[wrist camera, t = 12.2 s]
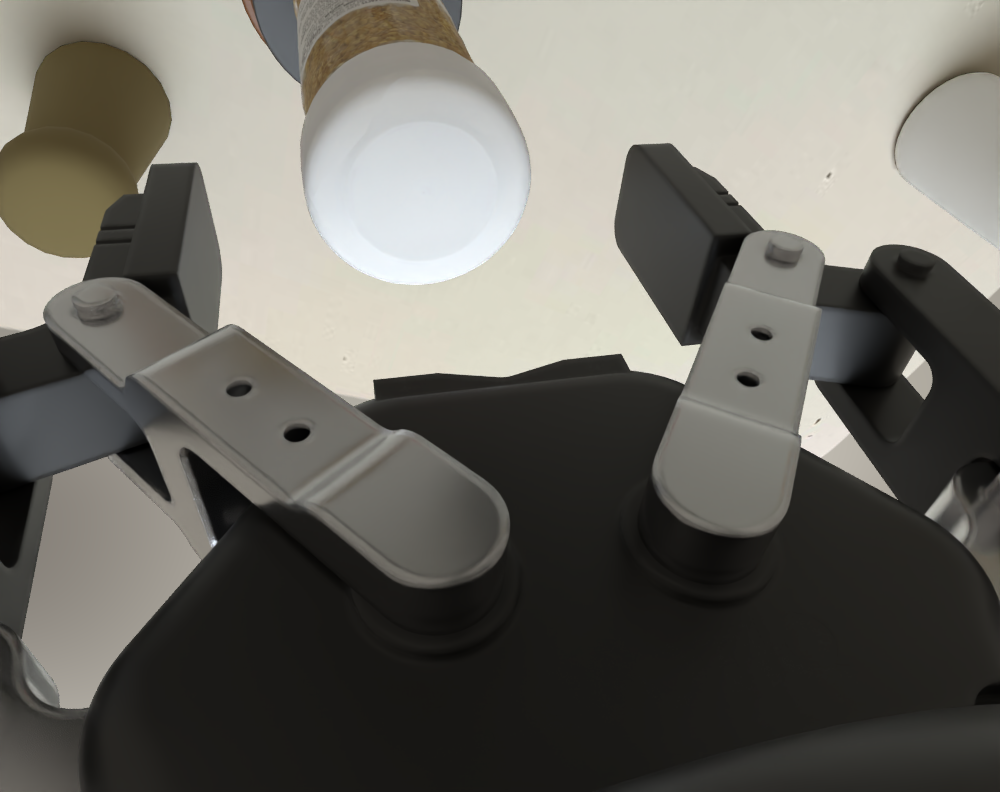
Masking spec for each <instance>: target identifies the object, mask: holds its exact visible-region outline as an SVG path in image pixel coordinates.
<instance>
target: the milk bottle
mask: <svg viewBox="0 0 1000 792" xmlns="http://www.w3.org/2000/svg"><path fill="white" fill-rule="evenodd" d="M895 160H896V166H897V169H898V171H899V173H900V175H901V177H902V178H903V179H904V180H906V181H907V182H908V183H909V184H910V185H912V186H913V187H914V188H915V189H917V190H918V191H919V192H921V193H922V194H923V195H925V196H926V197H927V198H929V199H930V200H931V201H933V202H934V203H935V204H937V205H938V206H940V207H941V208H942V209H944V210H945V211H946V212H948V213H949V214H950V215H952V216H953V217H954V218H956V219H957V220H958V221H960V222H961V223H963V224H964V225H965V226H967V227H968V228H969V229H971V230H972V231H973V232H975V233H976V234H978V235H979V236H980V237H982V238H983V239H985V240H986V241H987V242H989V243H990V244H991V245H993V246H994V247H996V248H997V249H998V250H1000V77H999V76H997V75H994V74H991V73H987V72H977V73H968V74H965V75H961V76H957V77H955V78H953V79H951V80H949V81H947V82H945V83H944V84H942V85H940V86H939V87H937V88H936V89H935V90H933V91H932V92H931V93H930V94H929V95H927V96H926V97H925V98H924V99H923V100H922V101H921V102H920V103H919V104H918V105H917V106H916V108H915V109H914V111H913V112H912V113H911V114H910V116H909V117H908V119H907V121H906V122H905V124H904V125H903V127H902V129H901V132H900V134H899V137H898V140H897V144H896V147H895Z"/></svg>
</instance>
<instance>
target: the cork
mask: <svg viewBox="0 0 1000 792" xmlns="http://www.w3.org/2000/svg"><path fill="white" fill-rule="evenodd" d="M171 121H172V120H171V112H170V104H169V100H168V98H167V96H166V94H165V92H164V90H163V88H162V85H161V83H160V82H159V81H158V80H157V78H156V77H155V76H154V75H153V74H152V73H151V71H150V70H149V69H148V68H147V67H146V66H145V65H144V64H142V63H141V62H140V61H138V60H137V59H135V58H134V57H133V56H131V55H130V54H128V53H127V52H125V51H122V50H120V49H117V48H114V47H112V46H109V45H107V44H104V43H94V42H83V41H81V42H76V43H72V44H67V45H63V46H60V47H59V48H58V49H56V50H55V51H53V52H52V53H50V54H49V55H47V56H46V57H45V59H44V60H43V62H42V64H41V65H40V67H39V69H38V70H37V72H36V76H35V81H34V86H33V91H32V96H31V101H30V106H29V112H28V117H27V122H26V127H25V132H24V133H22V134H20V135H19V136H17V137H16V138H14V139H13V140H11V141H10V142H8V143H7V144H5V146H4V147H3V149H2V150H1V152H0V217H1V218H2V220H3V221H4V222H5V224H6V225H7V227H8V228H9V229H10V230H11V231H12V232H13V233H15V234H16V235H17V236H18V237H19V238H21V239H22V240H23V241H24V242H26V243H27V244H29V245H31V246H33V247H35V248H37V249H39V250H41V251H43V252H45V253H49V254H53V255H56V256H60V257H68V258H87V257H91V254H92V251H93V247H94V245H96V238H97V235H98V232H99V231H101V229H100V226H101V223H102V220H103V217H104V214H105V211H106V210H107V209H108V208H109V207H110V206H111V205H112V204H113V203H115V202H116V201H117V200H118V199H119V198H120V197H121V196H123V195H125V194H138V189H137V183H138V181H139V180H140V178H141V176H142V175H143V173H144V172H145V170H146V169H147V167H148V166H149V164H150V163H151V161H152V160H153V158H154V157H155V155H156V154H157V152H158V151H159V149H160V148H161V146H162V145H163V143H164V142H165V140H166V139H167V137H168V134H169V129H170V125H171Z"/></svg>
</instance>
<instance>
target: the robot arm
mask: <svg viewBox="0 0 1000 792" xmlns="http://www.w3.org/2000/svg"><path fill="white" fill-rule="evenodd" d="M100 229H101V231H99V232H98V235H97V238H96V245H94V247H93V251H92V254H91V257H90V260H89V263H88V266H87V269H86V272H85V275H84V278H83V281H82V282H80V283H78V284H75V285H72V286H70V287H68V288H66V289H64V290H62V291H61V292H59V293H58V294H56V295H55V296H54V297H53V298H52V299H51V300H50V301H49V302H48V303H47V305H46V306H45V309H44V312H43V318H44V320H45V324H43V325H41V326H38V327H35V328H33V329H30V330H26V331H23V332H20V333H16V334H12V335H8V336H5V337H1V338H0V792H1000V310H999V309H998V308H997V307H996V306H995V305H994V304H992V303H991V302H990V301H989V300H988V299H987V298H986V297H985V296H984V295H982V294H981V293H980V292H979V291H978V290H977V289H976V288H975V287H974V286H972V285H971V284H970V283H969V282H968V281H967V280H966V279H965V278H964V277H963V276H961V275H960V274H959V273H958V272H957V271H956V270H955V269H954V268H953V267H951V266H950V265H949V264H948V263H947V262H945V261H944V260H943V259H941V258H939V257H938V256H936V255H934V254H932V253H929V252H927V251H924V250H922V249H919V248H915V247H911V246H905V245H883V246H880V247H877V248H876V249H874V250H873V252H872V253H871V255H870V257H869V260H868V262H867V264H866V266H865V268H864V270H863V269H855V268H846V267H838V266H829V265H824V264H825V257H824V254H823V252H822V251H821V250H820V249H819V248H818V247H817V246H816V245H815V244H813V243H812V242H810V241H808V240H806V239H804V238H802V237H800V236H797V235H794V234H791V233H787V232H782V231H774V230H764V229H763V228H762V227H761V226H760V225H759V224H758V223H757V222H756V221H755V220H754V219H753V218H752V217H751V215H750V214H749V213H748V212H747V211H746V210H745V209H744V208H743V207H742V206H741V205H738V202H737V201H736V200H735V198H734V197H733V196H732V195H731V194H729V195H728V191H727V190H726V189H725V188H724V187H723V186H722V185H721V184H720V182H719V181H718V180H717V179H716V178H714V177H712V176H710V175H709V174H707V173H705V172H703V171H701V170H700V169H698V168H696V167H693V166H692V165H691V164H690V163H689V162H688V161H687V160H686V159H685V158H684V157H683V155H682V154H681V153H680V152H679V151H678V150H677V149H676V148H675V147H674V146H673V145H672V144H670V143H665V144H642V145H633V146H632V147H631V148H630V150H629V152H628V154H627V158H626V162H625V168H624V173H623V178H622V184H621V189H620V194H619V200H618V205H617V210H616V216H615V238H616V242H617V245H618V248H619V249H620V251H621V253H622V254H623V256H624V257H625V259H626V260H627V262H628V263H629V265H630V267H631V268H632V270H633V271H634V273H635V274H636V276H637V277H638V279H639V281H640V282H641V284H642V285H643V287H644V288H645V290H646V291H647V293H648V295H649V296H650V298H651V299H652V301H653V302H654V304H655V305H656V307H657V309H658V310H659V312H660V313H661V315H662V316H663V318H664V320H665V321H666V323H667V324H668V326H669V327H670V329H671V330H672V332H673V334H674V335H675V337H676V338H677V340H678V341H679V343H680V344H681V346H686V345H696V344H701V345H700V348H699V350H698V353H697V356H696V358H695V361H694V363H693V366H692V368H691V371H690V373H689V376H688V378H687V381H686V383H685V385H684V384H682V383H680V382H677V381H675V380H672V379H669V378H666V377H662V376H658V375H654V374H650V373H644V372H637V371H630V369H629V367H628V366H627V364H626V362H625V360H624V358H623V356H622V355H621V354H615V355H605V356H596V357H587V358H577V359H568V360H562V361H558V362H555V363H552V364H549V365H546V366H542V367H539V368H536V369H533V370H529V371H526V372H523V373H520V374H517V375H513V376H510V377H486V376H471V375H456V374H441V373H435V374H426V375H416V376H407V377H397V378H388V379H378V380H373V381H374V394H375V399H372V400H369V401H366V402H363V403H361V404H359V405H356V406H354V407H353V406H352V405H350V404H349V403H348V402H346V401H345V400H343V399H342V398H341V397H339V396H338V395H336V394H335V393H333V392H332V391H331V390H329V389H328V388H326V387H325V386H323V385H322V384H321V383H319V382H318V381H316V380H315V379H313V378H312V377H311V376H309V375H308V374H306V373H305V372H303V371H302V370H301V369H299V368H298V367H296V366H295V365H294V364H292V363H291V362H289V361H288V360H286V359H285V358H284V357H282V356H281V355H279V354H278V353H276V352H275V351H274V350H272V349H271V348H269V347H268V346H266V345H265V344H264V343H262V342H261V341H259V340H258V339H256V338H255V337H254V336H252V335H251V334H249V333H248V332H247V331H245V330H244V329H242V328H240V327H239V326H237V325H233V324H229V325H226V326H225V327H223V328H221V329H219V330H218V318H219V306H220V294H221V282H222V264H221V256H220V249H219V244H218V240H217V235H216V231H215V227H214V223H213V218H212V214H211V210H210V206H209V202H208V197H207V193H206V189H205V185H204V180H203V176H202V173H201V170H200V167H199V165H198V163H174V164H152V165H151V167H150V171H149V175H148V179H147V183H146V186H145V190H144V194H125V195H123V196H121V197H120V198H119V199H118V200H117V201H116V202H115V203H113V204H112V205H111V206H110V207H109V208H108V209H107V210H106V211H105V214H104V217H103V220H102V223H101V226H100ZM915 350H917V351H918V352H919V353H920V354H921V355H922V357H923V358H924V359H925V360H926V361H927V362H928V364H929V366H930V368H931V371H932V377H933V383H932V387H931V390H930V392H929V394H928V396H927V397H926V399H925V400H924V399H923V398H922V397H921V396H920V394H919V393H918V392H917V391H916V390H915V389H914V387H913V386H912V385H911V384H910V383H909V382H908V380H907V379H906V378H905V377H904V376H903V375H902V372H903V371H904V369H905V367H906V366H907V364H908V362H909V360H910V359H911V357H912V355H913V354H914V352H915ZM809 379H810V380H815V383H816V385H817V387H818V388H819V390H820V391H821V393H822V394H823V395H824V397H825V398H826V400H827V401H828V402H829V404H830V405H831V407H832V408H833V409H834V411H835V412H836V414H837V415H838V416H839V418H840V419H841V421H842V422H843V423H844V425H845V426H846V428H847V429H848V430H849V432H850V433H851V435H852V436H853V437H854V439H855V440H856V442H857V443H858V444H859V446H860V447H861V449H862V450H863V451H864V452H865V454H866V456H867V457H868V458H869V460H870V461H871V463H872V464H873V465H874V467H875V468H876V470H877V471H878V472H879V474H880V475H881V477H882V478H883V479H884V481H885V482H886V484H887V485H888V486H889V488H890V489H891V490H892V492H893V493H894V494H895V496H896V497H897V499H898V500H897V499H895V498H893V497H891V496H889V495H888V494H886V493H884V492H882V491H880V490H878V489H877V488H875V487H873V486H871V485H869V484H867V483H865V482H864V481H862V480H860V479H858V478H856V477H854V476H853V475H851V474H849V473H847V472H845V471H844V470H842V469H840V468H838V467H836V466H834V465H832V464H831V463H829V462H827V461H825V460H823V459H822V458H820V457H818V456H816V455H814V454H812V453H811V452H809V451H807V450H805V449H803V448H801V435H799V434H798V430H799V425H800V420H801V415H802V410H803V405H804V400H805V395H806V390H807V385H808V380H809ZM107 456H108V458H109V459H110V461H111V462H112V463H113V464H114V465H115V466H116V467H117V468H119V469H120V470H121V471H122V472H123V473H124V474H125V475H126V476H127V477H128V478H129V479H130V480H131V481H132V482H133V483H134V484H135V485H136V486H137V487H139V489H141V490H142V491H143V492H144V493H145V494H146V495H147V496H148V497H149V498H150V499H151V500H152V501H153V502H154V503H155V504H156V505H157V506H158V507H159V508H160V509H161V510H162V511H163V512H164V513H165V514H166V515H168V516H169V517H170V518H171V519H172V520H173V521H174V522H175V524H176V525H177V526H178V527H179V528H180V530H181V531H182V532H183V534H184V535H185V537H186V538H187V540H188V542H189V543H190V545H191V546H192V548H193V549H194V551H195V552H196V554H197V555H198V556H199V558H200V559H201V560H202V561H201V562H200V563H199V564H198V565H197V566H196V568H195V569H194V570H193V571H192V572H191V573H190V574H189V576H188V577H187V578H186V579H185V580H184V581H183V582H182V584H181V585H180V586H179V587H178V588H177V589H176V590H175V592H174V593H173V594H172V595H171V596H170V597H169V599H168V600H167V601H166V602H165V603H164V604H163V605H162V606H161V608H160V609H159V610H158V611H157V612H156V613H155V614H154V616H153V617H152V618H151V619H150V620H149V621H148V622H147V623H146V625H145V626H144V627H143V628H142V629H141V631H140V632H139V633H138V634H137V635H136V636H135V637H134V638H133V639H132V641H131V642H130V643H129V644H128V645H127V646H126V647H125V649H124V650H123V651H122V652H121V654H120V655H119V656H118V657H117V659H116V660H115V661H114V663H113V664H112V665H111V667H110V668H109V670H108V671H107V673H106V674H105V676H104V678H103V679H102V681H101V683H100V685H99V687H98V689H97V691H96V693H95V695H94V697H93V699H92V702H91V704H90V707H89V708H84V709H65V708H60V705H59V693H58V689H57V687H56V685H55V683H54V681H53V679H52V678H51V677H50V676H49V675H48V673H47V672H46V671H45V669H44V668H43V667H42V665H41V664H40V663H39V662H38V661H37V659H36V658H35V657H34V655H33V654H32V653H31V652H30V650H29V649H28V648H27V646H26V645H25V644H24V643H23V641H22V640H21V639H22V633H23V629H24V623H25V618H26V613H27V608H28V603H29V598H30V593H31V588H32V582H33V577H34V572H35V567H36V562H37V557H38V551H39V546H40V541H41V536H42V531H43V526H44V521H45V515H46V510H47V505H48V500H49V495H50V490H51V484H52V477H53V475H54V474H57V473H60V472H63V471H66V470H69V469H72V468H75V467H78V466H80V465H84V464H86V463H89V462H92V461H95V460H98V459H101V458H103V457H107Z"/></svg>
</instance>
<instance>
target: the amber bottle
mask: <svg viewBox="0 0 1000 792" xmlns="http://www.w3.org/2000/svg"><path fill="white" fill-rule="evenodd" d="M441 1H442V3H443V4H444V6H445V8H446V10H447V11H448V13H449V15H450V16H451V18H452V20H453V22H454V24H455V27H456V29H457V31H458V30H459V25H460V20H461V12H462V0H441ZM242 2H243V4H244V7H245V10H246V12H247V14H248V16H249V18H250V20H251V22H252V24H253V26H254V28H255V29H256V31H257V33H258V34H259V36H260V37H261V39H262V40H263V41H264V43H265V44H266V45H267V46H268V47H269V49H270V51H271V52H272V54H273V55H274V57H275V58H276V60H277V61H278V62H279V63H280V65H281V66H282V67H283V68H284V69H285V70H286V71H287V72H288V73H289V74H290V75H291V76H292V77H293V78H294V79H295V80H296V81H297V82H299V83H300V84H301V82H300V70H299V53H298V34H297V19H296V16H295V11H294V4H293V0H242Z"/></svg>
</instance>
